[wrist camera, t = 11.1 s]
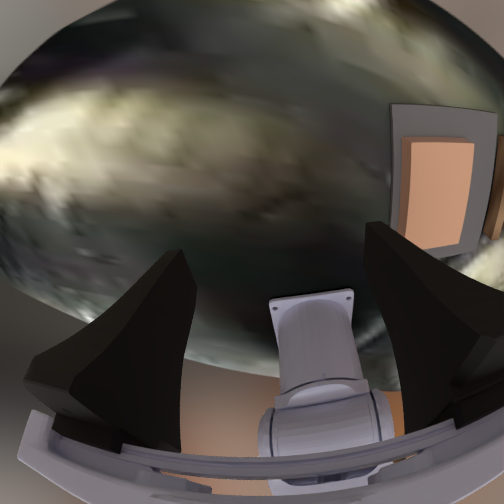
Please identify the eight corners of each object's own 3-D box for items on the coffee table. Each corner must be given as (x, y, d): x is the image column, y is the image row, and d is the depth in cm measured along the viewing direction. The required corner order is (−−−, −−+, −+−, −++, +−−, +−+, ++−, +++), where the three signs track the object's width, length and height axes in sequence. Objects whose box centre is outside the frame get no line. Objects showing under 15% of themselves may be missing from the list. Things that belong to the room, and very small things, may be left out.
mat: (473, 248, 22) (475, 250, 21) (384, 264, 23) (385, 267, 23) (494, 112, 14) (497, 113, 13) (389, 103, 15) (391, 104, 15)
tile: (458, 243, 19) (402, 253, 20) (450, 234, 21) (396, 242, 21) (474, 143, 14) (411, 142, 15) (463, 137, 15) (401, 137, 16)
